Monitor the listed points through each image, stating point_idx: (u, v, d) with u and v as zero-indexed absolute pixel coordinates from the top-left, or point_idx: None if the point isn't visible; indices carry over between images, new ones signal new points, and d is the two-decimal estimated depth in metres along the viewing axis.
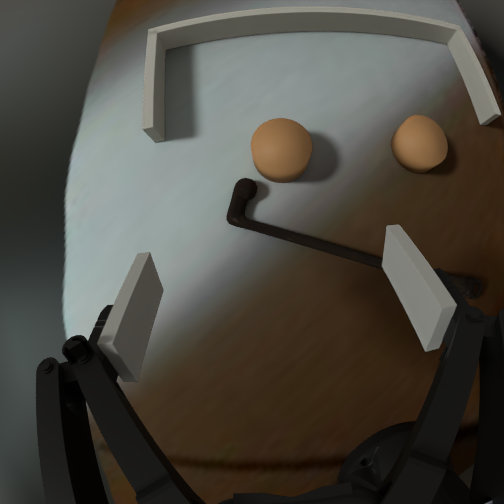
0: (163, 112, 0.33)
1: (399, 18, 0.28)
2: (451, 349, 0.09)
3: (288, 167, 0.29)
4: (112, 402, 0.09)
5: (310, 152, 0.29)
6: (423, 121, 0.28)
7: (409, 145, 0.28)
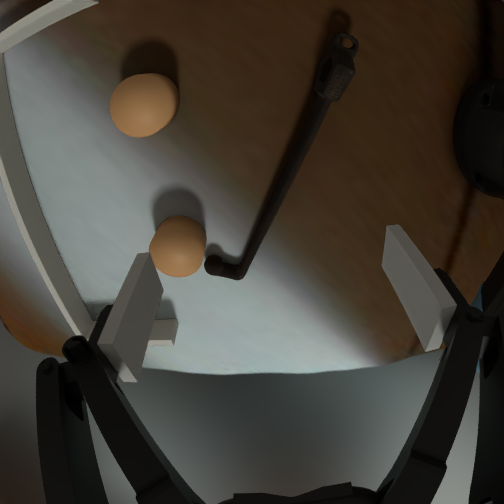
0: None
1: None
2: (451, 349, 0.09)
3: (196, 250, 0.33)
4: (112, 402, 0.09)
5: (179, 232, 0.31)
6: (117, 107, 0.24)
7: (152, 128, 0.25)
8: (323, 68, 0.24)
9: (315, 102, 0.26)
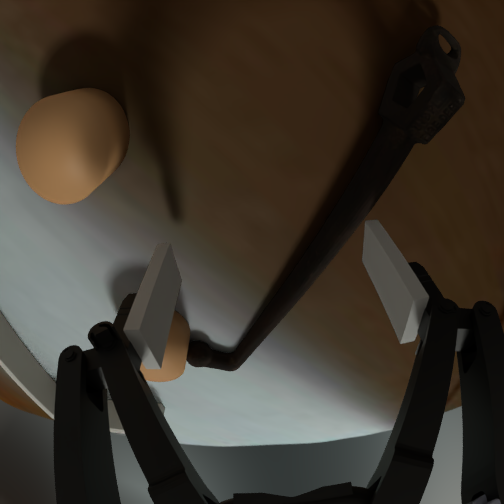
0: None
1: None
2: (426, 343, 0.09)
3: (174, 357, 0.21)
4: (134, 391, 0.09)
5: None
6: (26, 155, 0.13)
7: (80, 190, 0.14)
8: (399, 79, 0.13)
9: (383, 138, 0.15)
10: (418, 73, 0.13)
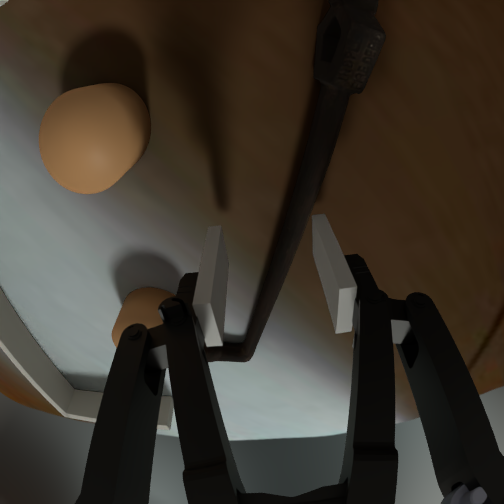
0: None
1: None
2: (360, 337, 0.10)
3: None
4: (194, 372, 0.10)
5: (151, 320, 0.21)
6: (49, 146, 0.14)
7: (104, 180, 0.15)
8: (324, 38, 0.13)
9: (321, 99, 0.14)
10: (340, 26, 0.12)
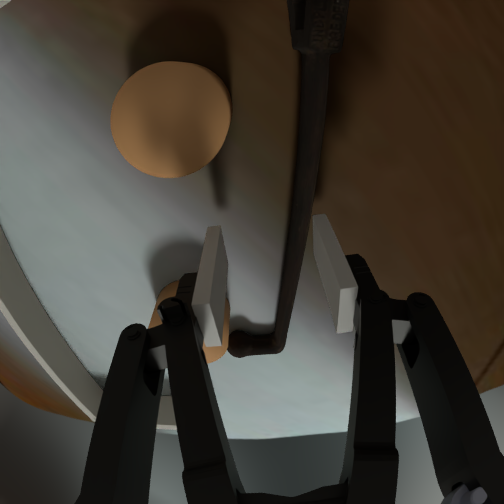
0: None
1: None
2: (361, 337, 0.10)
3: None
4: (193, 372, 0.10)
5: None
6: (124, 123, 0.14)
7: (191, 163, 0.15)
8: (294, 8, 0.12)
9: (303, 67, 0.13)
10: None
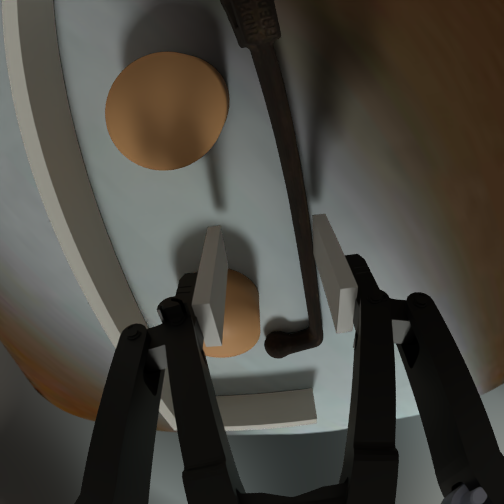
0: (280, 395, 0.31)
1: (31, 110, 0.12)
2: (361, 337, 0.10)
3: (251, 335, 0.21)
4: (194, 372, 0.10)
5: (241, 308, 0.20)
6: (119, 109, 0.13)
7: (181, 157, 0.14)
8: (228, 8, 0.12)
9: (254, 62, 0.13)
10: None
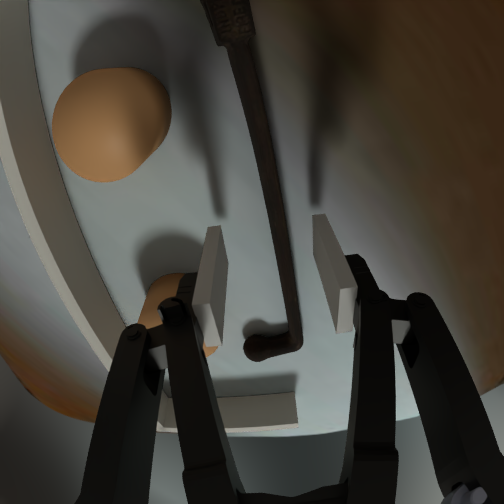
0: (262, 398, 0.31)
1: (5, 121, 0.12)
2: (361, 337, 0.10)
3: None
4: (194, 372, 0.10)
5: None
6: (63, 126, 0.13)
7: (119, 170, 0.14)
8: (206, 6, 0.12)
9: (230, 61, 0.13)
10: None
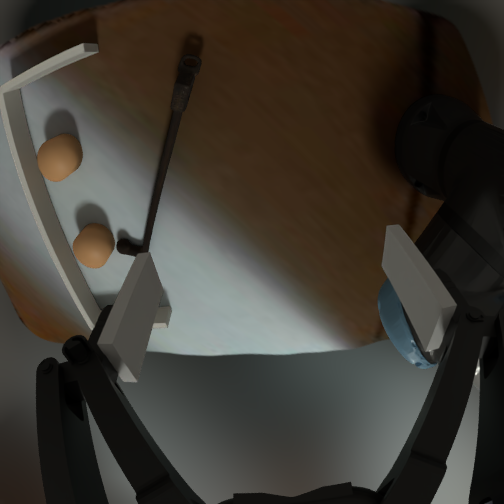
0: None
1: (18, 157, 0.32)
2: (451, 349, 0.09)
3: (103, 254, 0.42)
4: (112, 402, 0.09)
5: (96, 238, 0.40)
6: (41, 160, 0.33)
7: (61, 176, 0.35)
8: None
9: (173, 114, 0.33)
10: None
